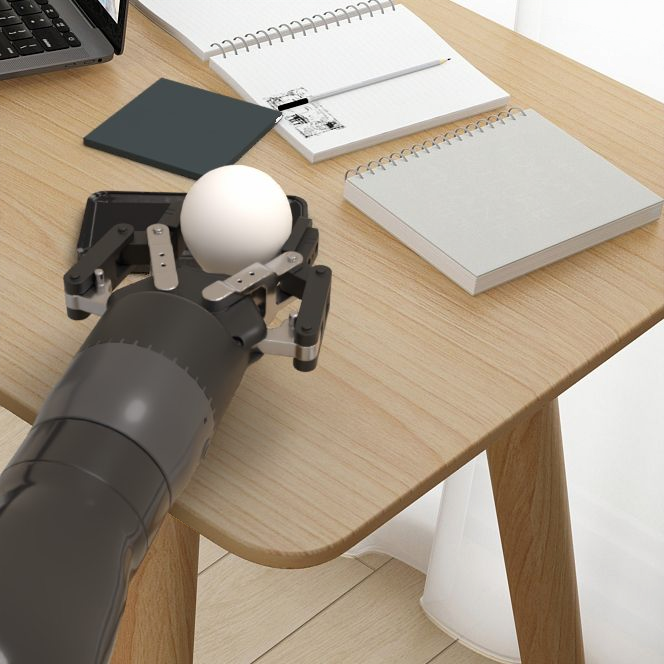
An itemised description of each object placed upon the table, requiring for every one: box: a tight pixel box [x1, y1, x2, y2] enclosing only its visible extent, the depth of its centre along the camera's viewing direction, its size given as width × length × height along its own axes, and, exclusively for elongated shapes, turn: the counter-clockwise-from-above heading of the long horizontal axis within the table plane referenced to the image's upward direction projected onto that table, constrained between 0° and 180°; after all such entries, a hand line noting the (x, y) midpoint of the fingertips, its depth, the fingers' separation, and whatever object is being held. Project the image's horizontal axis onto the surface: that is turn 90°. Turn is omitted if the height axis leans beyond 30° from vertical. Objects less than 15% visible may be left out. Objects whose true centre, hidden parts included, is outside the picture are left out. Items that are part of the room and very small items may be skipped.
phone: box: [76, 190, 309, 273], centre depth 80 cm, size 8×1×15 cm
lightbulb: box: [180, 164, 292, 275], centre depth 67 cm, size 6×6×11 cm
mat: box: [82, 77, 283, 181], centre depth 91 cm, size 11×11×1 cm
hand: (249, 219), depth 68 cm, fingers closed on lightbulb, 6 cm apart
